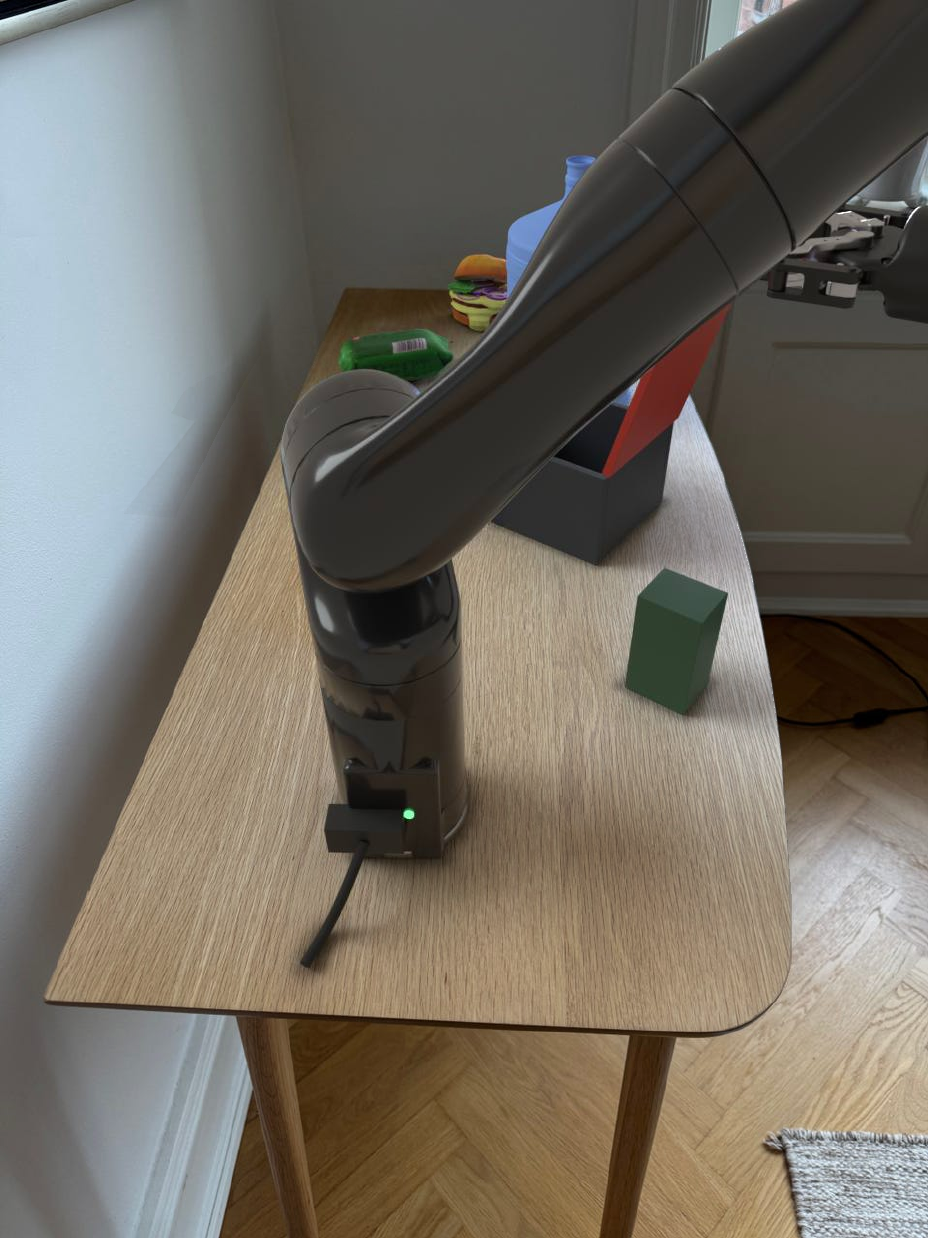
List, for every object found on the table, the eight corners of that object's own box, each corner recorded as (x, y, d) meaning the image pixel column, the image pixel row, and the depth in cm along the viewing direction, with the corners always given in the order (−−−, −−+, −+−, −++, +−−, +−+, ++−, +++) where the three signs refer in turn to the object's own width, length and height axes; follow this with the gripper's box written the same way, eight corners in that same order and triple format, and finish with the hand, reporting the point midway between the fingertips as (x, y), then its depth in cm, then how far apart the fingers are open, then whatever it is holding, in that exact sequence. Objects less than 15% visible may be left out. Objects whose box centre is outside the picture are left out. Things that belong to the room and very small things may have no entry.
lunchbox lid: (675, 290, 69) (684, 295, 69) (751, 238, 77) (759, 242, 77) (601, 473, 83) (608, 478, 83) (671, 413, 91) (678, 417, 91)
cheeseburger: (442, 331, 131) (442, 256, 126) (455, 319, 140) (455, 249, 136) (512, 333, 129) (515, 258, 125) (521, 321, 139) (523, 250, 134)
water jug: (487, 384, 119) (486, 148, 100) (598, 365, 122) (617, 134, 104) (530, 442, 107) (539, 188, 89) (651, 419, 111) (683, 171, 92)
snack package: (461, 380, 120) (460, 342, 116) (342, 395, 117) (338, 357, 113) (448, 357, 125) (447, 320, 122) (334, 372, 122) (330, 334, 119)
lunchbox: (453, 506, 98) (451, 424, 91) (525, 452, 106) (528, 373, 99) (596, 565, 89) (604, 480, 83) (662, 502, 98) (674, 419, 91)
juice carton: (683, 715, 74) (702, 623, 68) (624, 687, 77) (637, 595, 70) (708, 684, 77) (728, 592, 70) (650, 657, 80) (664, 566, 73)
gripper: (1011, 184, 65) (785, 161, 72) (963, 249, 56) (712, 215, 63) (979, 289, 69) (770, 257, 77) (930, 363, 61) (701, 320, 68)
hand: (744, 238), depth 70 cm, fingers open, 8 cm apart
